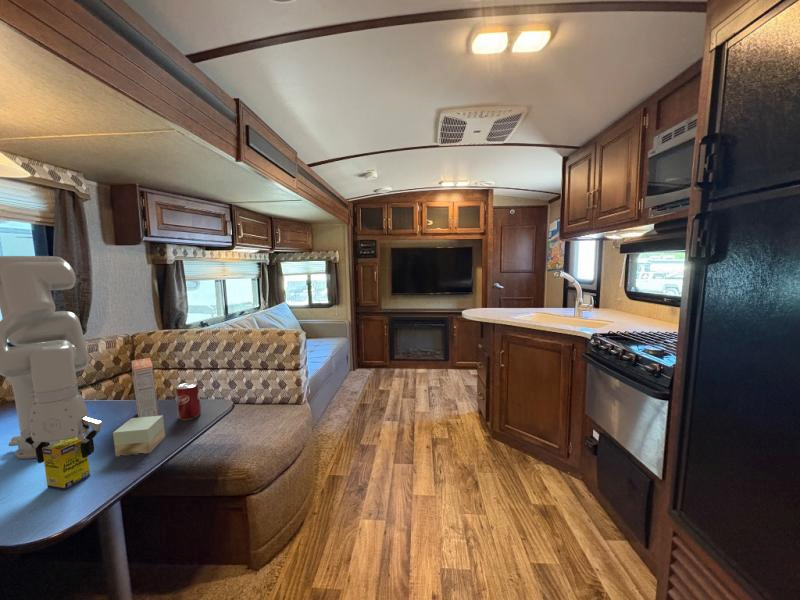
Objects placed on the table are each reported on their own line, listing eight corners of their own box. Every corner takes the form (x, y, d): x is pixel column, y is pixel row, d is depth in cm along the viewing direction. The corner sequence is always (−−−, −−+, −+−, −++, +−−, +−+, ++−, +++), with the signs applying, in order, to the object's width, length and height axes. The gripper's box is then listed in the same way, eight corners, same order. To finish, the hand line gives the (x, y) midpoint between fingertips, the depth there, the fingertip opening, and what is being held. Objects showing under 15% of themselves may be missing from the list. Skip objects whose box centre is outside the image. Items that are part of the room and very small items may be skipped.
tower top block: (114, 445, 96) (112, 432, 96) (132, 430, 105) (131, 418, 104) (149, 441, 98) (147, 429, 98) (164, 426, 107) (162, 415, 106)
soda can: (184, 422, 117) (181, 390, 115) (174, 417, 121) (171, 386, 119) (205, 414, 123) (202, 384, 121) (195, 410, 127) (192, 380, 125)
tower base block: (115, 457, 97) (114, 444, 97) (134, 441, 106) (133, 429, 105) (149, 453, 99) (148, 441, 98) (165, 438, 107) (164, 426, 107)
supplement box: (65, 491, 82) (59, 450, 81) (46, 488, 84) (40, 448, 82) (91, 475, 88) (86, 437, 87) (74, 473, 89) (68, 435, 88)
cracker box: (136, 413, 124) (130, 360, 122) (156, 408, 128) (151, 357, 126) (138, 427, 114) (132, 369, 111) (159, 421, 118) (154, 365, 115)
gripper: (1, 403, 78) (12, 471, 79) (85, 396, 81) (94, 461, 82) (30, 391, 85) (40, 454, 87) (106, 385, 88) (114, 445, 90)
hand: (66, 457), depth 85 cm, fingers open, 9 cm apart
